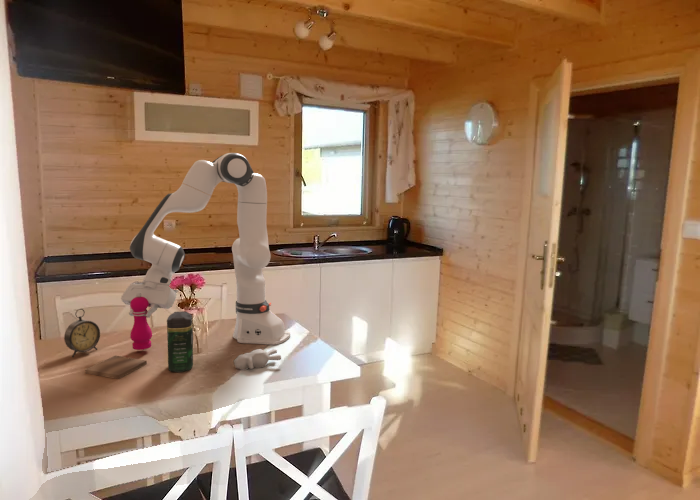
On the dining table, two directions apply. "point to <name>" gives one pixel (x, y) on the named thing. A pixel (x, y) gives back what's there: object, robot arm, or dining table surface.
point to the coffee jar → (180, 341)
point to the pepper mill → (140, 324)
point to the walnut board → (116, 367)
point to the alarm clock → (82, 335)
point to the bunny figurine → (255, 359)
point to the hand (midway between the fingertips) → (138, 316)
